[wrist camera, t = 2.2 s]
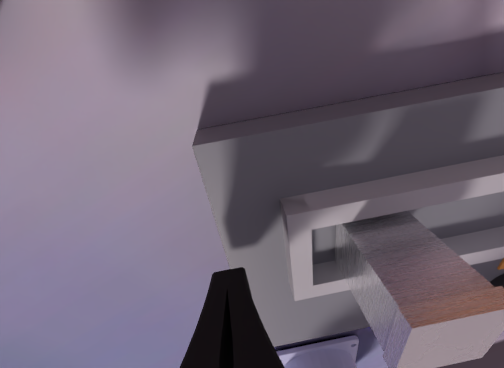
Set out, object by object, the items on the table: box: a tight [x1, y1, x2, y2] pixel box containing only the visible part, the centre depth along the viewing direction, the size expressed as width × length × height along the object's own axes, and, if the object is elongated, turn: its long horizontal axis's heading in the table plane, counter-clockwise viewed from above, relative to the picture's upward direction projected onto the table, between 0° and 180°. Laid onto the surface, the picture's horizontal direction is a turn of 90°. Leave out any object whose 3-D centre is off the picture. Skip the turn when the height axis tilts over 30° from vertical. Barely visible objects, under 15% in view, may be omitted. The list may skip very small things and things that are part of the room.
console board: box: [192, 72, 504, 347], centre depth 13 cm, size 16×24×4 cm, turn 99°
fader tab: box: [335, 211, 504, 368], centre depth 9 cm, size 3×3×5 cm
